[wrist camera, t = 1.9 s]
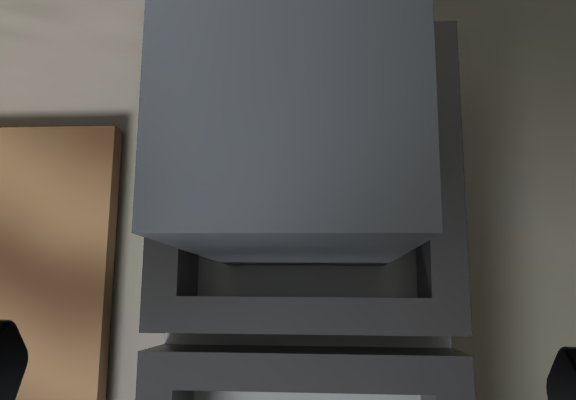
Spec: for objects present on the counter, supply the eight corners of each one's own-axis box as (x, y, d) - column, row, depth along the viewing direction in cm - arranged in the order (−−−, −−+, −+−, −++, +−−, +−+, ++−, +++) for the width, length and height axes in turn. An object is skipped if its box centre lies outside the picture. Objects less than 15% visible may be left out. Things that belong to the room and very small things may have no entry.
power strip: (447, 723, 18) (500, 909, 12) (173, 706, 18) (109, 876, 13) (423, 78, 22) (455, 5, 16) (198, 83, 22) (156, 14, 17)
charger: (384, 266, 17) (442, 232, 9) (228, 265, 18) (131, 233, 9) (380, 115, 18) (430, -55, 10) (232, 117, 19) (148, -45, 10)
